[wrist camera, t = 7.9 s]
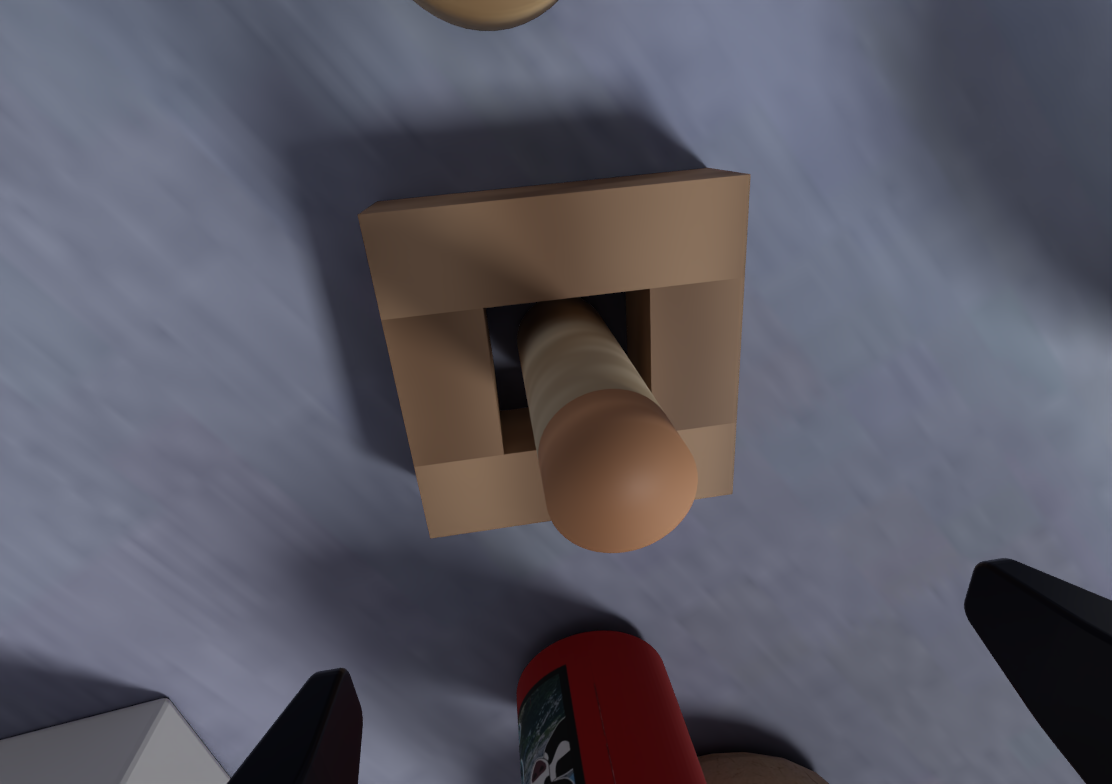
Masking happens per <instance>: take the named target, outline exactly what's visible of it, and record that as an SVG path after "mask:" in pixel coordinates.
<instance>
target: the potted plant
mask: <svg viewBox="0 0 1112 784" xmlns="http://www.w3.org/2000/svg"><path fill="white" fill-rule="evenodd" d="M698 760H699V763H700V766H701V769H702V772H703V774H704V777H705V780H706V783H707V784H829V783H828V782H826V781H825V780H824V779H823V778H822V777H820V776H819V775H818V774H817V773H816V772H814V771H811V770H809V769H807V768H805V767H803V766H800V765H798V764H796V763H793V762H791V761H789V760H787V759H784V758H780V757H774V756H768V755H761V754H755V753H747V752H734V753H714V754H708V755H703V756H699V757H698Z"/></svg>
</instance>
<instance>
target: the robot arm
mask: <svg viewBox="0 0 1112 784" xmlns="http://www.w3.org/2000/svg"><path fill="white" fill-rule="evenodd" d="M964 609H965V613H966V616H967V618H968V620H969V622H970V623H971V625H972V626H973V628H974V629H975V631H976V632H977V634H978V635H979V637H980V638H981V640H982V641H983V643H984V644H985V646H986V647H987V648H988V650H989V651H990V653H991V654H992V656H993V657H994V659H995V660H996V662H997V663H998V665H999V666H1000V668H1001V669H1002V671H1003V672H1004V674H1005V675H1006V677H1007V678H1008V680H1009V681H1010V683H1011V684H1012V686H1013V687H1014V688H1015V690H1016V691H1017V693H1018V694H1019V696H1020V697H1021V699H1022V700H1023V702H1024V703H1025V705H1026V706H1027V708H1028V709H1029V711H1030V712H1031V713H1032V715H1033V716H1034V718H1035V719H1036V720H1037V722H1038V723H1039V725H1040V726H1041V727H1042V729H1043V730H1044V731H1045V732H1046V734H1047V735H1048V736H1049V738H1050V739H1051V740H1052V742H1053V743H1054V744H1055V745H1056V747H1057V748H1058V749H1059V750H1060V752H1061V753H1062V754H1063V755H1064V757H1065V758H1066V759H1067V760H1068V762H1069V763H1070V764H1071V765H1072V767H1073V768H1074V769H1075V770H1076V772H1077V773H1078V774H1079V775H1080V777H1081V778H1082V779H1083V780H1084V782H1085V783H1086V784H1112V600H1109V599H1107V598H1104V597H1102V596H1099V595H1097V594H1095V593H1092V592H1090V591H1087V590H1085V589H1083V588H1080V587H1078V586H1075V585H1073V584H1071V583H1068V582H1066V581H1063V580H1061V579H1059V578H1056V577H1054V576H1051V575H1049V574H1046V573H1044V572H1042V571H1039V570H1037V569H1034V568H1032V567H1030V566H1027V565H1025V564H1022V563H1020V562H1018V561H1015V560H1012V559H1008V558H1001V559H995V560H989V561H983V562H980V563H978V564H977V565H976V566H975V568H974V571H973V574H972V577H971V581H970V584H969V588H968V591H967V594H966V598H965V602H964ZM362 728H363V717H362V709H361V705H360V702H359V699H358V697H357V694H356V691H355V688H354V685H353V682H352V679H351V676H350V674H349V672H348V671H347V670H346V669H345V668H337V669H331V670H325V671H319V672H316V673H315V674H313V675H312V676H311V677H310V678H309V679H308V680H307V682H306V683H305V684H304V686H303V687H302V688H301V689H300V691H299V692H298V693H297V694H296V696H295V697H294V698H293V700H292V701H291V702H290V703H289V705H288V706H287V707H286V708H285V710H284V711H283V712H282V714H281V715H280V716H279V717H278V719H277V720H276V721H275V722H274V724H273V725H272V726H271V728H270V729H269V730H268V731H267V733H266V734H265V735H264V737H263V738H262V739H261V740H260V742H259V743H258V744H257V745H256V747H255V748H254V749H253V751H252V752H251V753H250V754H249V756H248V757H247V758H246V759H245V761H244V762H243V763H242V765H241V766H240V767H239V768H238V770H237V771H236V772H235V773H234V775H233V776H232V777H231V779H230V780H229V781H228V782H227V784H358V775H359V764H360V752H361V740H362Z"/></svg>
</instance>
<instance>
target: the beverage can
mask: <svg viewBox="0 0 1112 784" xmlns="http://www.w3.org/2000/svg"><path fill="white" fill-rule="evenodd" d="M517 713H518V732H519V751H520V767H521V783H522V784H707V783H706V780H705V777H704V774H703V772H702V769H701V766H700V763H699V760H698V757H697V755H696V752H695V749H694V746H693V743H692V741H691V738H690V735H689V732H688V730H687V727H686V724H685V721H684V718H683V716H682V713H681V710H680V707H679V704H678V702H677V699H676V696H675V694H674V691H673V688H672V685H671V683H670V680H669V677H668V675H667V672H666V669H665V666H664V664H663V661H662V659H661V657H660V656H659V654H658V653H657V652H656V650H655V649H654V648H653V647H652V646H651V645H649V644H648V643H647V642H645V641H644V640H642V639H640V638H638V637H636V636H633V635H630V634H627V633H623V632H617V631H605V630H602V631H589V632H583V633H579V634H575V635H572V636H569V637H566V638H563V639H561V640H559V641H557V642H555V643H553V644H551V645H550V646H548V647H546V648H545V649H544V650H542V651H541V652H540V653H539V654H537V655H536V656H535V657H534V658H533V659H532V660H531V661H530V663H529V664H528V665H527V666H526V668H525V669H524V671H523V673H522V675H521V677H520V679H519V682H518V686H517Z"/></svg>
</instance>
